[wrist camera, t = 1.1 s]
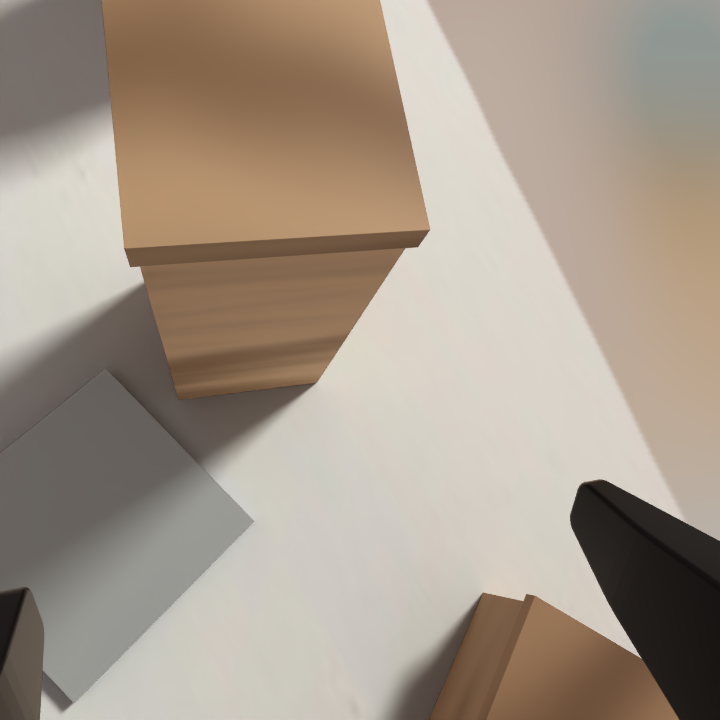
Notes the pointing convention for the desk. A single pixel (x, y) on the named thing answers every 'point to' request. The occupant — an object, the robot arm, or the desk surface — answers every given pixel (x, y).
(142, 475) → the coaster
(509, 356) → the desk surface
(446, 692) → the walnut trinket box
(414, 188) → the oak tea canister
